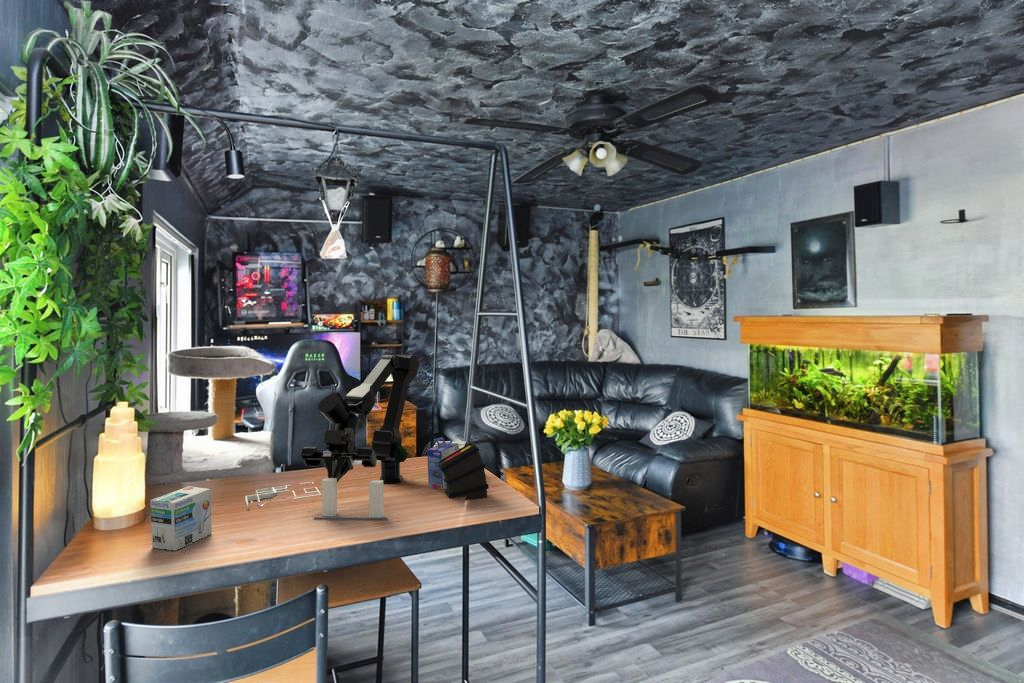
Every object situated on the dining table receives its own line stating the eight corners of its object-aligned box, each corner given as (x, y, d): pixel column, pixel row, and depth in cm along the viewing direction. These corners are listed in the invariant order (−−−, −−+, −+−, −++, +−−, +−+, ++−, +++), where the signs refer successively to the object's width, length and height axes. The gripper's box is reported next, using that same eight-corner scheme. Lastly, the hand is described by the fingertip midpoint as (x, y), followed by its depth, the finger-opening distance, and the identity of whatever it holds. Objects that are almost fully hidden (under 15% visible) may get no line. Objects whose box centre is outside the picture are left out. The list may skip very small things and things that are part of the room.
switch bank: (331, 506, 151) (331, 500, 151) (398, 507, 151) (398, 501, 151) (313, 523, 139) (313, 517, 139) (387, 524, 139) (387, 518, 139)
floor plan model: (250, 524, 141) (250, 516, 140) (243, 495, 163) (243, 488, 162) (329, 511, 149) (328, 503, 149) (312, 485, 171) (312, 478, 171)
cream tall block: (325, 513, 143) (324, 477, 143) (337, 513, 143) (336, 478, 143) (322, 516, 141) (321, 480, 141) (334, 516, 141) (333, 480, 141)
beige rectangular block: (371, 516, 141) (371, 480, 141) (383, 516, 141) (383, 480, 141) (369, 519, 139) (368, 482, 139) (381, 519, 139) (381, 482, 139)
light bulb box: (175, 552, 123) (173, 502, 123) (150, 548, 125) (148, 500, 124) (213, 533, 133) (212, 487, 133) (190, 530, 135) (188, 485, 135)
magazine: (498, 490, 159) (476, 444, 156) (457, 516, 155) (433, 469, 152) (494, 486, 163) (472, 441, 160) (453, 511, 159) (430, 465, 156)
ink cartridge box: (444, 481, 173) (444, 434, 173) (460, 483, 171) (460, 435, 170) (426, 490, 165) (426, 440, 164) (443, 493, 162) (442, 442, 161)
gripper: (301, 416, 148) (283, 470, 137) (373, 416, 147) (360, 471, 137) (313, 439, 156) (297, 492, 146) (381, 440, 155) (370, 493, 145)
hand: (330, 486), depth 143 cm, fingers closed, pressing on cream tall block
